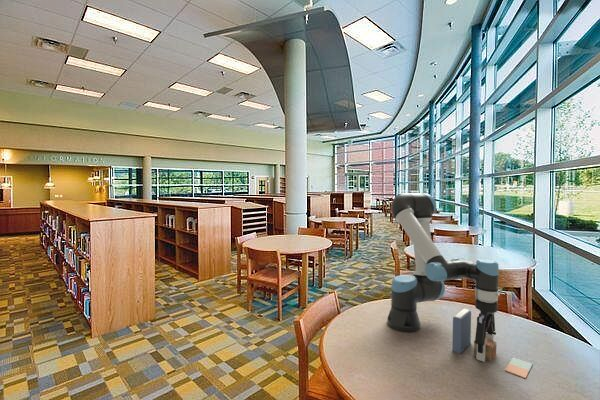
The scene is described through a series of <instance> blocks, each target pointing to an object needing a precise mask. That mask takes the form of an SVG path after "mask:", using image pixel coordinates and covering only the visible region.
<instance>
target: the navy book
mask: <svg viewBox="0 0 600 400" xmlns="http://www.w3.org/2000/svg"><path fill="white" fill-rule="evenodd" d="M471 333H472V310H470V309H467V308H463V309H461V310H460V311H459V312H457V313H456V314H454V315H453V316H452V347H451V348H452V349H451V351H453V352H454V353H457V354H459V355H460V354H462V353H463V352H464V350H466V349H467V347H469V345H470V344H471V336H472V334H471Z"/></svg>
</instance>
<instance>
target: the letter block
mask: <svg viewBox="0 0 600 400" xmlns="http://www.w3.org/2000/svg"><path fill="white" fill-rule="evenodd" d="M473 342H474V341H473ZM473 356H476V357H477V344H476V343H475V342H474V343H473ZM496 356H497V342H496V341H494V340H493V341H492V340H489V339H486V338H485V361H488V362H493V361H494V359H495V358H496Z"/></svg>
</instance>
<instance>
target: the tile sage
mask: <svg viewBox="0 0 600 400" xmlns="http://www.w3.org/2000/svg"><path fill="white" fill-rule="evenodd" d="M509 363H510V364H513V365H515V366H518V367H521V368H524V369H526V370H529V372H530V371H531V369H532V366H533V363H531V362H528V361H525V360H522V359H519V358H516V357H512V358H511V359H510V361H509Z"/></svg>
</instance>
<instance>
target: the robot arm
mask: <svg viewBox="0 0 600 400" xmlns="http://www.w3.org/2000/svg"><path fill="white" fill-rule="evenodd" d="M390 210H391V215H392V218H393V219H394V221H395V222H396V223H399V224H400V225H401V227H402V229H403V230H404V231H405V234H406V235H407V237H409V240H410V241H411V243H412V244H413V252H414V253H413V254H414V263H415V270H414V271H413V273H412V275H411V274H399V275H395V277H393V278H392V279H391V285H390V289H391V293H390V294H391V296H390V310H389V313H388V316H387V321H386V322H387V323H386V324H387V325H388V327H390V328H391V329H393V330H395V331H397V332H398V331H399V332H403V333H414V332H417V331H420V329H421V321H420V318H419V314H418V311H417V308H418V307H417V304H418V303H424V302H435V301H436V300H437V301H438V300H440V299H441V298H442V297H443V296H444V294H445V292H446V286H445V282H444V281H451V280H460V279H467V280H470V281H473V282H475V291H474V292H475V293H474V296H475V299H474V304H475V305H474V306H475V309H477V310H479V313H478V316H477V317H476V328H475V338H474V340H473V342H475V343H476V344H477V356H476V360H478V361H480V362H483V363H485V362H486V360H485V338H486V339H489V340H492V341H494V336H496V335H497V332H496V323H495V322H496V321H495V313H497V312H498V309H499V303H498V299H499V297H500V293H498V292H499V276H500V271H499V270H500V269H499V263H498V262H497V261H495V260H493V259H486V258H485V259H484V258H480V259H479V258H478V259H477V260H476V261H472V260H469V259H465V258H463V257H462V258H461V257H453V258H452V259H450V260H446V258H444V256H443V255H442V254H441V252H440V250H439V249H438V248H437V245H435V243H434V242H433V240H432V235H431V226H430V224H431V223H430V222H431V221H432V219H433V215H434V214H435V212H436V210H437V203H436V200H435V197H433V196H432V195H430V194H429V193H427V192H426V193H423V192H418V193H417V192H411V193H408V192H404V193H399V194H397V195H395V197H394V198H393V200H392V201H391V203H390Z"/></svg>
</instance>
